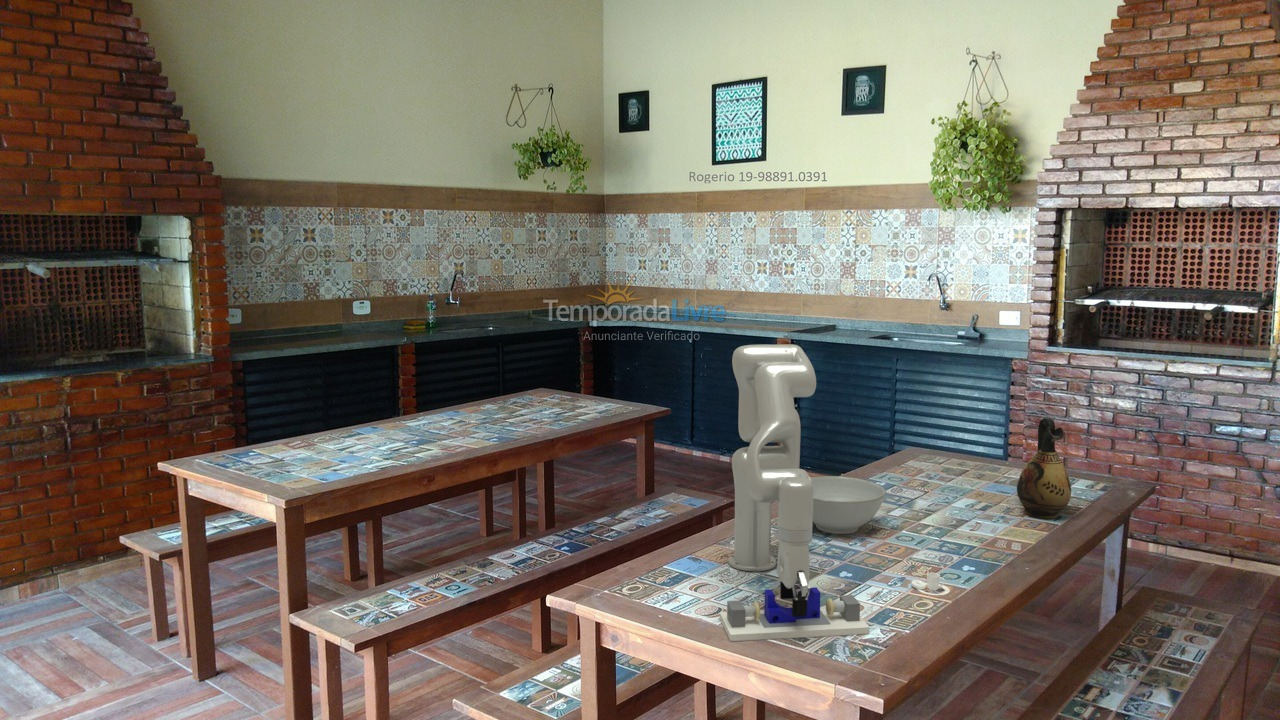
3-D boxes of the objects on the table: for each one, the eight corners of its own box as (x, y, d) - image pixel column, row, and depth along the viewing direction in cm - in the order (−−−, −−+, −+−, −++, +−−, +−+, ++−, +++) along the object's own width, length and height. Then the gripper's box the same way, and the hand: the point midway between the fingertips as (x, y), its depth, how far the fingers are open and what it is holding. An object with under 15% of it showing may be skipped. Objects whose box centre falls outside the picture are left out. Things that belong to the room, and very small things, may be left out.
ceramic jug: (1078, 522, 280) (1085, 425, 276) (1026, 522, 281) (1032, 425, 276) (1054, 505, 297) (1060, 413, 293) (1006, 505, 297) (1011, 413, 293)
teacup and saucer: (906, 589, 230) (907, 573, 230) (923, 581, 236) (923, 565, 235) (939, 599, 224) (940, 583, 223) (955, 590, 229) (956, 575, 229)
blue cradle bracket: (769, 623, 206) (769, 597, 205) (764, 615, 210) (764, 589, 209) (821, 620, 207) (822, 595, 206) (815, 612, 212) (816, 587, 211)
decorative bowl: (876, 515, 288) (877, 477, 286) (890, 544, 262) (892, 502, 260) (788, 512, 291) (789, 474, 289) (794, 541, 264) (795, 500, 263)
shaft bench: (719, 618, 213) (719, 594, 212) (850, 611, 216) (851, 587, 216) (730, 641, 201) (730, 615, 200) (869, 633, 205) (870, 608, 204)
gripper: (768, 521, 214) (767, 592, 216) (789, 547, 197) (787, 624, 199) (800, 520, 215) (798, 591, 217) (823, 546, 198) (821, 622, 200)
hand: (793, 607), depth 208 cm, fingers open, 9 cm apart
